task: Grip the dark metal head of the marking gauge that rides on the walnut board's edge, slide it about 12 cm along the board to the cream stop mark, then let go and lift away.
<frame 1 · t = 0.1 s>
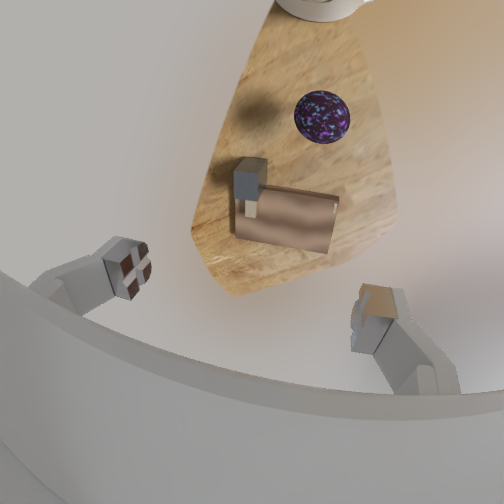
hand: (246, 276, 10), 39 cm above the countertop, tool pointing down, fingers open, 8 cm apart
gauge: (250, 192, 47), point 4 cm above the countertop, slide at 0.0 cm
lollipop: (322, 106, 38), on the countertop
board: (285, 215, 52), on the countertop
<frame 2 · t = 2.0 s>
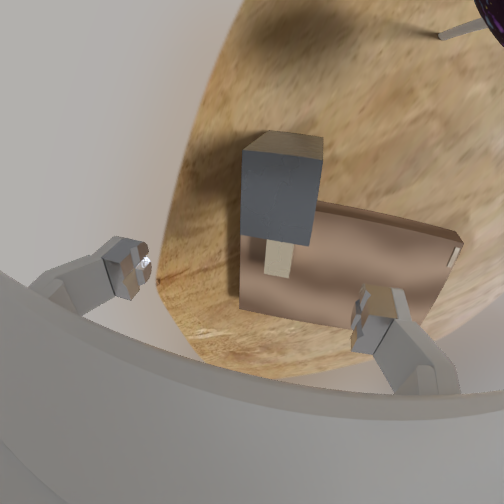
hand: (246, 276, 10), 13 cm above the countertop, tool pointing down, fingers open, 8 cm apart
gauge: (282, 217, 18), point 4 cm above the countertop, slide at 0.0 cm
lollipop: (440, 37, 11), on the countertop
board: (346, 267, 24), on the countertop
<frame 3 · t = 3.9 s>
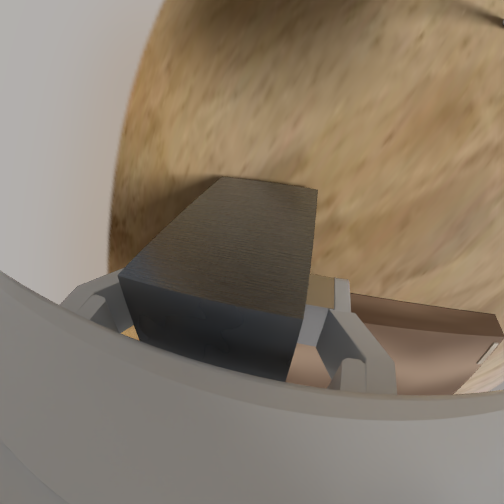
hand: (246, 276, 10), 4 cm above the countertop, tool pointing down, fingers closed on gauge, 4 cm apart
gauge: (241, 334, 11), point 4 cm above the countertop, slide at 0.0 cm, touching gripper
board: (342, 361, 16), on the countertop
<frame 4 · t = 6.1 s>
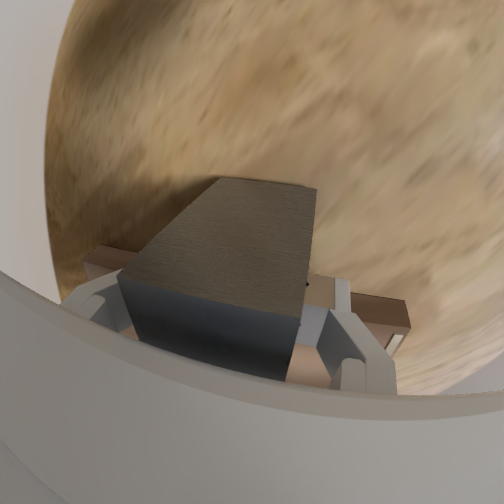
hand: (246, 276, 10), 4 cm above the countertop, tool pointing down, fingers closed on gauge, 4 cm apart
gauge: (242, 334, 11), point 4 cm above the countertop, slide at 7.6 cm, touching gripper
board: (233, 341, 18), on the countertop
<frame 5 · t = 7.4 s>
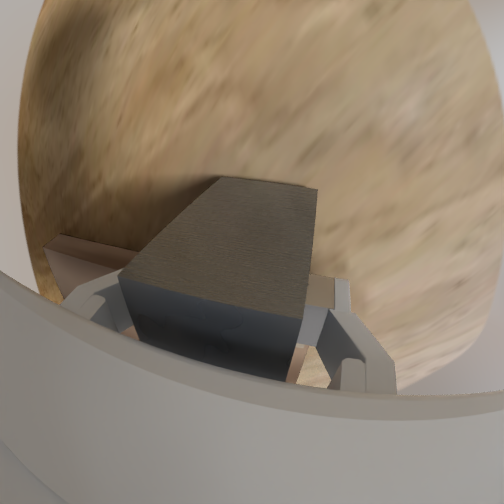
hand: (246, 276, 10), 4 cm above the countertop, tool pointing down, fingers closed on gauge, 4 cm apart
gauge: (241, 334, 11), point 4 cm above the countertop, slide at 12.4 cm, touching gripper
board: (169, 323, 19), on the countertop
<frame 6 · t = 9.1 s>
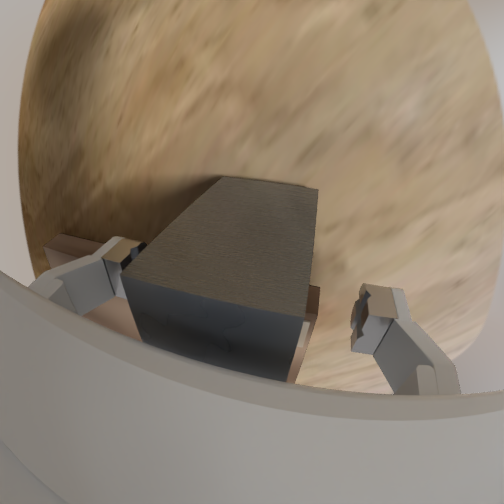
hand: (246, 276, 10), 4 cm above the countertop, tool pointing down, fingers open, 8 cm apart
gauge: (242, 333, 11), point 4 cm above the countertop, slide at 12.5 cm
board: (169, 323, 19), on the countertop
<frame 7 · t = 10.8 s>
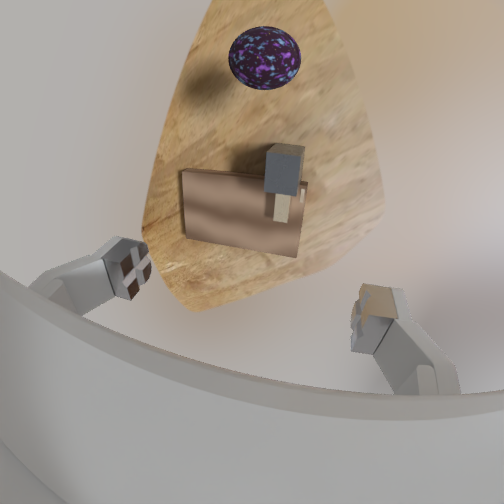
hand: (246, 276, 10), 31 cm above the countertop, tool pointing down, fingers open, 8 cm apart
gauge: (283, 187, 35), point 4 cm above the countertop, slide at 12.5 cm
lollipop: (282, 70, 30), on the countertop
board: (243, 209, 43), on the countertop
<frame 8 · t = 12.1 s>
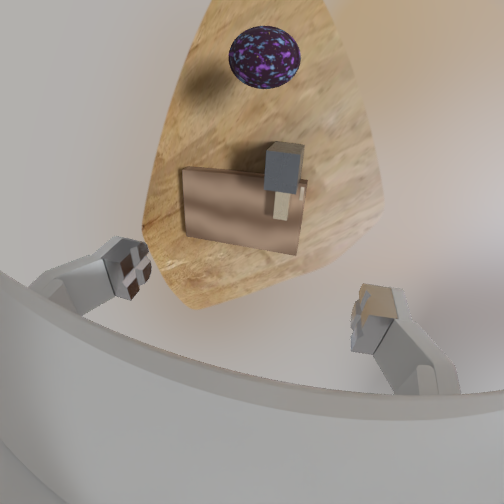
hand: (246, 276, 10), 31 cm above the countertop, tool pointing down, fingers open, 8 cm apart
gauge: (283, 185, 35), point 4 cm above the countertop, slide at 12.5 cm
lollipop: (282, 69, 30), on the countertop
board: (243, 207, 43), on the countertop
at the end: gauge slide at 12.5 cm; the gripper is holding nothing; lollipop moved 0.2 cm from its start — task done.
